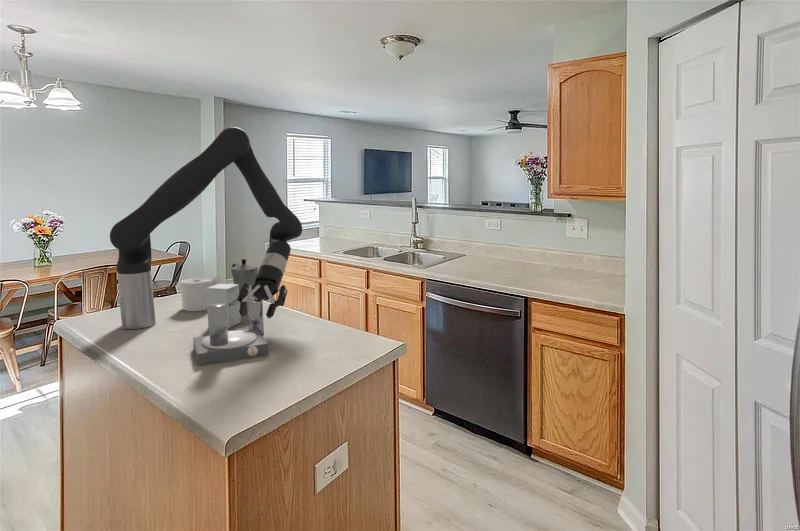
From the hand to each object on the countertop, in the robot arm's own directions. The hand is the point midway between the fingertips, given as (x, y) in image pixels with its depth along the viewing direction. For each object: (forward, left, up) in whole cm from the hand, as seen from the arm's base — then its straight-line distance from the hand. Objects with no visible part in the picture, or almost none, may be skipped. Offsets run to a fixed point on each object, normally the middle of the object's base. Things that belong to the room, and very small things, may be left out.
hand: (255, 316), depth 144 cm
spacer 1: (-12, -15, -2) cm, 19 cm away
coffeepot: (+2, +31, -6) cm, 32 cm away
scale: (-9, -12, -6) cm, 16 cm away
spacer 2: (0, 0, -6) cm, 6 cm away
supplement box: (-7, +14, -6) cm, 17 cm away
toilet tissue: (-12, +41, -6) cm, 43 cm away
